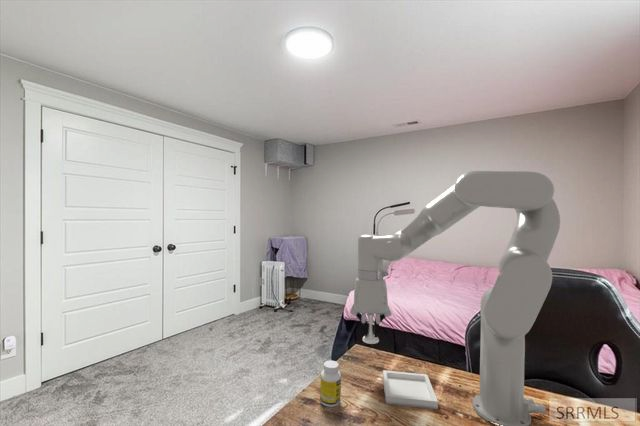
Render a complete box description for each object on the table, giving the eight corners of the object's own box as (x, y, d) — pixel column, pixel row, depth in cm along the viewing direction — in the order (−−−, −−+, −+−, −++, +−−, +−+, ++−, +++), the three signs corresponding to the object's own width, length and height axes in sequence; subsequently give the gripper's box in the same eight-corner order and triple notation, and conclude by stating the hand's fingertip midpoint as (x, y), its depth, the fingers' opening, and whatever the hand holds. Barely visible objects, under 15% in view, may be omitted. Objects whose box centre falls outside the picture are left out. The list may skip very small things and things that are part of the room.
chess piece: (381, 339, 91) (381, 306, 91) (375, 345, 87) (375, 311, 87) (366, 336, 94) (366, 304, 94) (359, 341, 90) (359, 308, 90)
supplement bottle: (339, 409, 75) (339, 370, 75) (318, 406, 76) (318, 367, 76) (341, 396, 80) (342, 360, 80) (322, 393, 82) (322, 357, 82)
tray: (427, 381, 89) (427, 374, 89) (437, 409, 76) (437, 401, 76) (382, 376, 91) (382, 370, 91) (385, 403, 78) (386, 396, 78)
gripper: (396, 273, 93) (396, 332, 93) (345, 272, 96) (345, 329, 95) (398, 278, 86) (399, 342, 86) (343, 276, 88) (343, 338, 88)
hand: (370, 334), depth 90 cm, fingers closed on chess piece
